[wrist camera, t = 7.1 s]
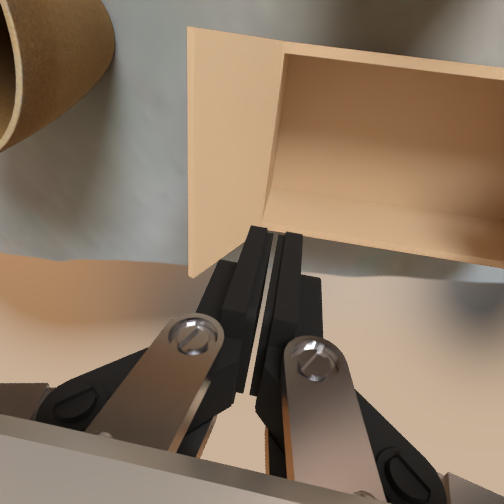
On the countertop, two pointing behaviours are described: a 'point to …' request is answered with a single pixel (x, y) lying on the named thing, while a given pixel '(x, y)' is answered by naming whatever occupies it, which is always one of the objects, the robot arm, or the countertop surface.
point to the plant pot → (48, 60)
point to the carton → (388, 153)
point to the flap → (227, 138)
